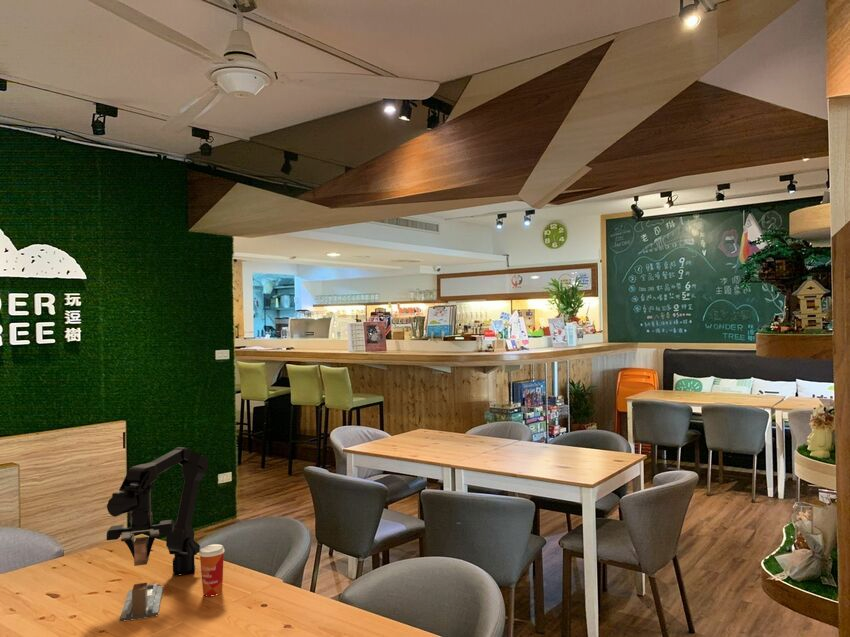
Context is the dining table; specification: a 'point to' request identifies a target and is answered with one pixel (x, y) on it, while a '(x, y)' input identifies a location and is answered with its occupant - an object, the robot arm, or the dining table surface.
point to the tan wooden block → (140, 551)
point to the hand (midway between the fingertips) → (141, 557)
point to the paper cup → (212, 568)
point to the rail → (151, 607)
